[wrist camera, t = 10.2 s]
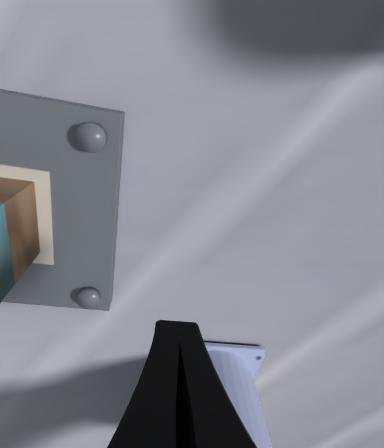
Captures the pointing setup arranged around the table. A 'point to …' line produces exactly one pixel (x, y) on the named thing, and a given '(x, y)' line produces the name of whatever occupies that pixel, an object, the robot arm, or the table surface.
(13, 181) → the teal and brown block
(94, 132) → the plate
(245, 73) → the table surface
